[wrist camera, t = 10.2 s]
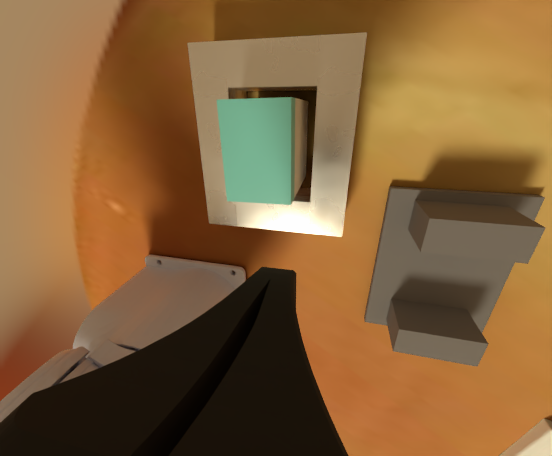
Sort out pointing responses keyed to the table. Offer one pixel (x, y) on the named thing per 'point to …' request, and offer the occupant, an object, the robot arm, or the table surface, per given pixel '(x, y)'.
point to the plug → (263, 148)
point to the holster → (447, 266)
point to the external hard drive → (533, 441)
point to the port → (283, 77)
